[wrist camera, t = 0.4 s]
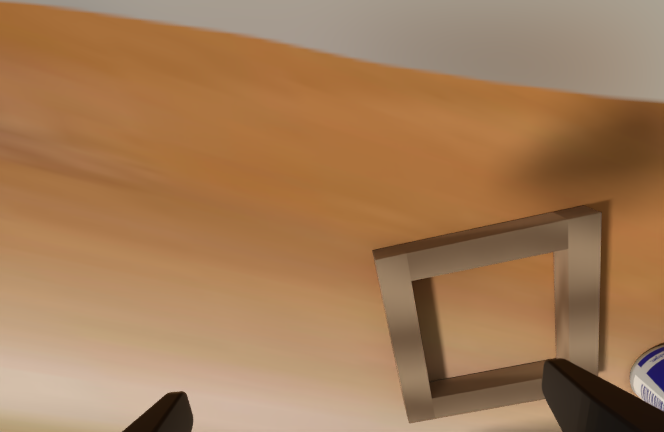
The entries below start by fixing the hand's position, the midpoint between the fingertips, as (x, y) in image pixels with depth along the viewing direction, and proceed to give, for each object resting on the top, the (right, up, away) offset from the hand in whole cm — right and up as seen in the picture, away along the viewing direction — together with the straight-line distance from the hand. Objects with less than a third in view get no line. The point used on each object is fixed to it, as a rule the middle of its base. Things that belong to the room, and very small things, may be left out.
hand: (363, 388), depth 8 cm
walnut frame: (+10, -3, +16) cm, 19 cm away
